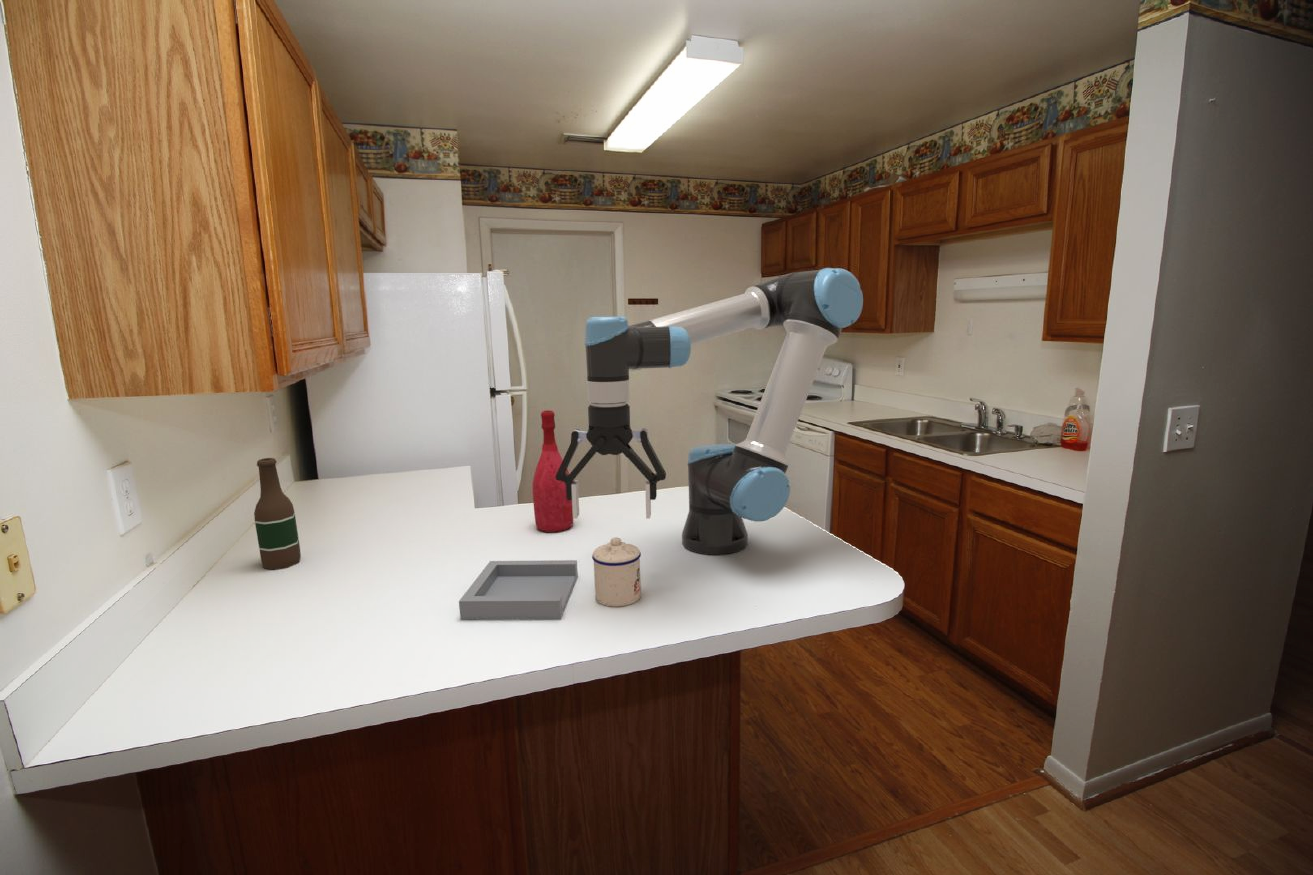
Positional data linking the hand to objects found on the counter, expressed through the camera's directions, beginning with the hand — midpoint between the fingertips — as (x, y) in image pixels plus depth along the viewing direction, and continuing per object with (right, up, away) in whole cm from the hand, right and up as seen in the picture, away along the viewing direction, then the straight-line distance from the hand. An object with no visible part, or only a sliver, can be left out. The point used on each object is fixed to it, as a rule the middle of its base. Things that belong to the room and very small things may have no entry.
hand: (612, 516), depth 114 cm
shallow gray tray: (-17, -16, +3) cm, 24 cm away
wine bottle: (-18, -8, +41) cm, 46 cm away
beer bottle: (-75, -14, +23) cm, 80 cm away
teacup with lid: (+1, -15, +3) cm, 16 cm away
